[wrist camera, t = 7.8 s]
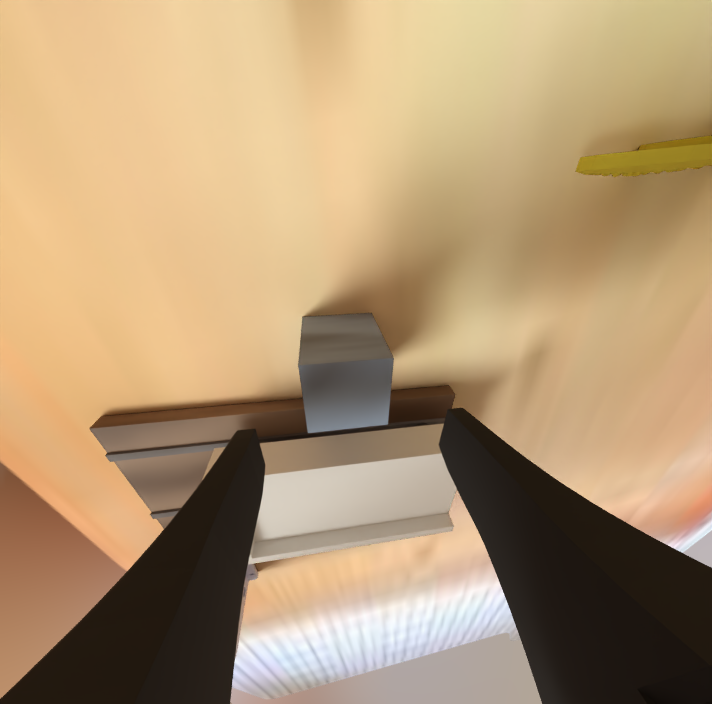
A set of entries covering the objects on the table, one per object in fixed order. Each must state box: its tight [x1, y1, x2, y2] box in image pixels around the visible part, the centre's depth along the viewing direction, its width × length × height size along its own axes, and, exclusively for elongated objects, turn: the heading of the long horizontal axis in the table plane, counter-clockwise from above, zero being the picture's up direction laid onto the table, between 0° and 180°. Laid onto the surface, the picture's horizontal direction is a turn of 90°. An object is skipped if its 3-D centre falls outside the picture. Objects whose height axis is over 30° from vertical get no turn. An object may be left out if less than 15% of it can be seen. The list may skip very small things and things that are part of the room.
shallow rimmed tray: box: [202, 423, 457, 564], centre depth 19 cm, size 10×16×3 cm, turn 90°
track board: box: [89, 386, 455, 529], centre depth 20 cm, size 12×23×1 cm, turn 90°
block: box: [298, 313, 394, 433], centre depth 14 cm, size 4×4×5 cm
